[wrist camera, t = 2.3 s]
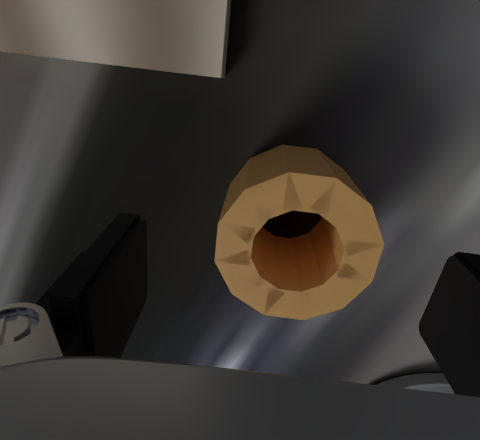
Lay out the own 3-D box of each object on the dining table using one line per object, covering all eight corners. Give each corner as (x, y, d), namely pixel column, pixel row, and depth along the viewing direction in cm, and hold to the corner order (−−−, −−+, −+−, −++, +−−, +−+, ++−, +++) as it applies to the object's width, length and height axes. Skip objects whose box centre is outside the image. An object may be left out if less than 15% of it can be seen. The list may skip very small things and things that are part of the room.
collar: (365, 154, 17) (402, 186, 12) (336, 267, 20) (357, 327, 15) (234, 138, 17) (223, 163, 12) (223, 252, 20) (210, 307, 15)
